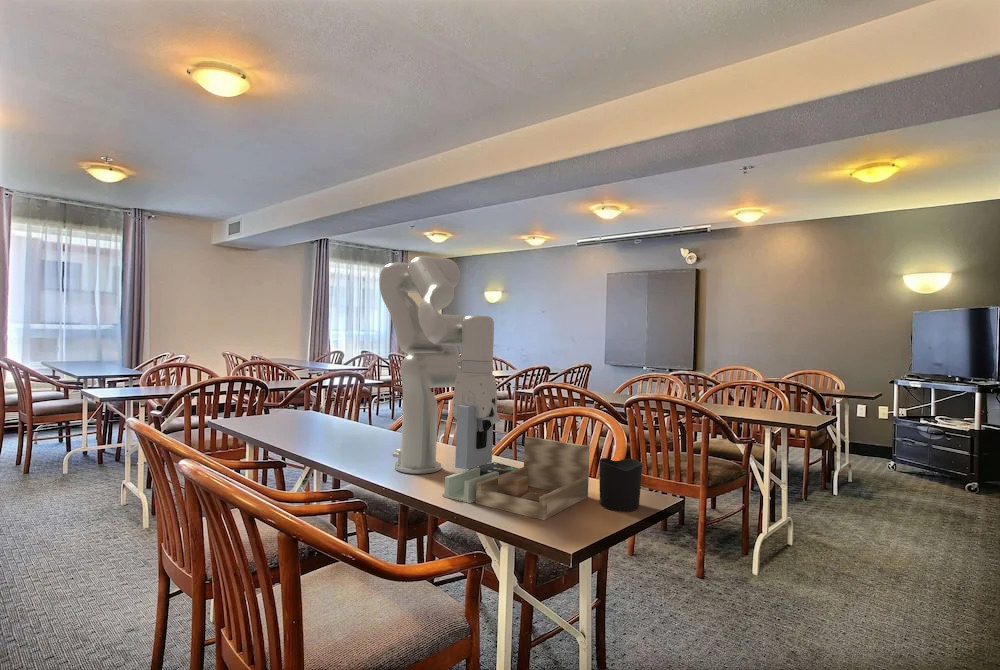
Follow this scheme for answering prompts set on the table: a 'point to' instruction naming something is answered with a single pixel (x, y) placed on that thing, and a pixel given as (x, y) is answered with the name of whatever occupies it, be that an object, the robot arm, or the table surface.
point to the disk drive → (495, 468)
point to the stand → (465, 484)
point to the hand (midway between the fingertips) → (474, 446)
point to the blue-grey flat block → (470, 440)
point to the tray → (543, 479)
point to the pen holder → (620, 484)
